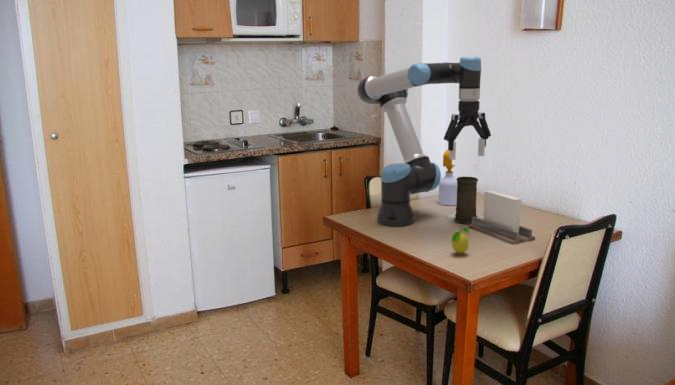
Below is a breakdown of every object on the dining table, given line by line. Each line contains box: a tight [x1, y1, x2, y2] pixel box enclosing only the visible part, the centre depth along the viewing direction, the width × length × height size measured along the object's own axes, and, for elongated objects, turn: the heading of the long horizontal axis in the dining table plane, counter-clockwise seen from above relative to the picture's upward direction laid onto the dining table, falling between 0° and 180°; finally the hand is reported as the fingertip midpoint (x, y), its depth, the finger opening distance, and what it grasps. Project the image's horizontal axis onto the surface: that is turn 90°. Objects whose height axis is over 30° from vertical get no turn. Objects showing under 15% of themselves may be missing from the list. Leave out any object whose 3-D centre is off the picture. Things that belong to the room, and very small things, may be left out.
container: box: [454, 176, 479, 225], centre depth 226 cm, size 9×9×18 cm
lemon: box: [451, 226, 470, 255], centre depth 189 cm, size 7×6×10 cm
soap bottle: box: [437, 149, 458, 207], centre depth 254 cm, size 9×9×25 cm
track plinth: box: [467, 217, 536, 245], centre depth 211 cm, size 11×24×4 cm, turn 27°
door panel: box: [482, 189, 522, 236], centre depth 210 cm, size 4×16×14 cm, turn 27°
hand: (466, 157), depth 209 cm, fingers open, 13 cm apart
